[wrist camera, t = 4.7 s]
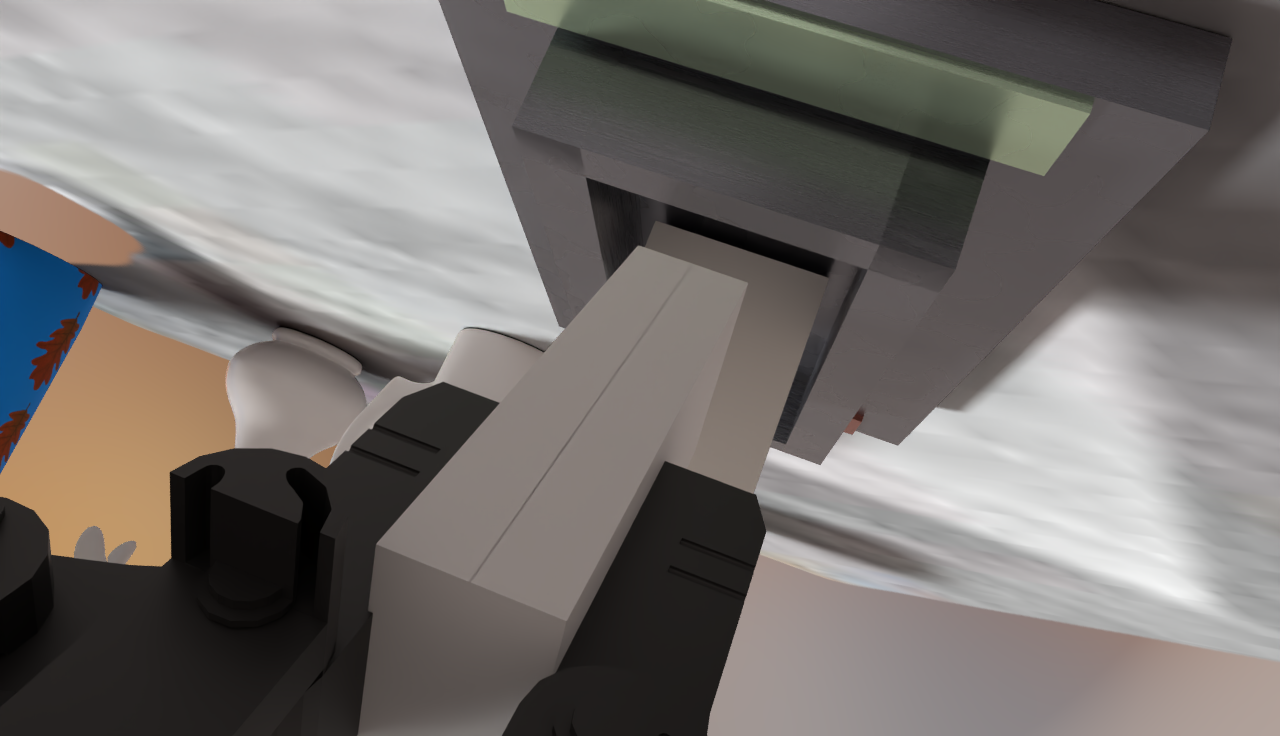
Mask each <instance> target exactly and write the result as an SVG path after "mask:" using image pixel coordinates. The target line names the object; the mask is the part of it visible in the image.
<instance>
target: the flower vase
mask: <svg viewBox="0 0 1280 736" xmlns="http://www.w3.org/2000/svg"><path fill="white" fill-rule="evenodd" d="M272 338H273V341H264V342H258V343H254V344H251V345H249V346H247V347H245V348H243V349H242V350H240V351H239V352H237V353H236V354H235V355H234V356H233V357H232V358H231V360H230V362H229V364H228V367H227V372H226V378H225V383H226V391H227V396H228V399H229V402H230V405H231V407H232V411H233V413H234V417H235V422H236V438H235V448H272V449H277V450H281V451H285V452H289V453H293V454H297V455H301V456H305V457H307V458H309V459H310V458H311V457H312V456H313V455H315V454H317V453H318V452H320V451H322V450H325V449H327V448H330V447H332V446H335V445H337V444H338V443H339V441H340V440H341V438H342V436H343V435H344V433H345V432H346V430H347V429H348V427H349V426H350V425H351V423H352V422H353V421H354V420H355V418H356V417H357V416H358V415H359V414H360V413H361V412H362V411H363V410H364V409H365V408H366V407H367V403H366V398H365V394H364V391H363V389H362V387H361V385H360V384H359V382H358V381H357V379H356V378H355V376H357V375H359V374H360V373H361V372H362V365H361V363H360V362H359V361H358V360H356V359H355V358H354V357H352V356H351V355H349V354H347V353H346V352H344V351H342V350H340V349H338V348H337V347H335V346H333V345H331V344H328V343H326V342H324V341H322V340H320V339H317V338H315V337H313V336H310V335H307V334H305V333H302V332H299V331H296V330H293V329H288V328H283V327H279V328H277V329H275V330H274V331H273V333H272ZM135 548H136V542H135V541H128V542H125V543H123V544H121V545H120V546H118V547H117V548H115V549H114V550H113V551H112V552H111V553H110V555H109V556H108V562H111V563H118V564H125V563H126V562H127V561H128V559H129V558H130V557H131V555H132V554H133V552H134V550H135ZM74 558H79V559H87V560H95V561H103V562H107V561H106V557H105V548H104V538H103V534H102V531H101V530H100V528H98V527H96V526H93V527H89V528H87V529H86V530H85V531H84V532H83V533H82V535H81V536H80V538H79V540H78V542H77V544H76V547H75V552H74Z"/></svg>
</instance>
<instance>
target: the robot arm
mask: <svg viewBox="0 0 1280 736" xmlns="http://www.w3.org/2000/svg"><path fill="white" fill-rule="evenodd" d="M747 285H748V283H747V282H745V281H742V280H739V279H736V278H733V277H730V276H727V275H724V274H721V273H718V272H715V271H712V270H709V269H706V268H703V267H700V266H698V265H695V264H692V263H689V262H686V261H683V260H680V259H677V258H674V257H671V256H668V255H665V254H662V253H659V252H656V251H654V250H651V249H648V248H645V247H642V246H639V245H638V246H637V247H636V249H635V250H634V251H633V252H632V253H631V254H630V255H629V257H628V258H627V259H626V260H625V261H624V262H623V263H622V264H621V266H620V267H619V268H618V269H617V270H616V271H615V272H614V274H613V275H612V276H611V277H610V278H609V279H608V280H607V282H606V283H605V284H604V285H603V286H602V287H601V288H600V290H599V291H598V292H597V293H596V294H595V295H594V296H593V298H592V299H591V300H590V301H589V302H588V303H587V304H586V305H585V307H584V308H583V309H582V310H581V311H580V312H579V313H578V315H577V316H576V317H575V318H574V319H573V320H572V321H571V323H570V324H569V325H568V326H567V327H566V328H565V329H564V331H563V332H562V333H561V334H560V335H559V336H558V337H557V339H556V340H555V341H554V342H553V343H552V344H551V345H550V347H549V348H548V349H547V350H546V351H545V352H544V353H543V354H542V356H541V357H540V358H539V359H538V360H537V361H536V362H535V364H534V365H533V366H532V367H531V368H530V369H529V370H528V372H527V373H526V374H525V375H524V376H523V377H522V378H521V380H520V381H519V382H518V383H517V384H516V385H515V386H514V388H513V389H512V390H511V391H510V392H509V393H508V394H507V396H506V397H505V398H504V399H503V400H502V401H501V402H500V403H499V402H496V401H494V400H491V399H488V398H486V397H483V396H480V395H478V394H475V393H472V392H470V391H467V390H464V389H462V388H459V387H456V386H453V385H451V384H448V383H445V382H441V383H438V384H436V385H433V386H431V387H428V388H425V389H423V390H420V391H418V392H415V393H412V394H410V395H407V396H404V397H402V398H401V399H400V400H399V401H398V402H397V403H396V404H394V405H393V406H392V407H391V408H390V409H389V410H388V411H387V412H386V413H385V414H384V415H383V416H382V417H381V418H379V419H378V420H377V421H376V422H375V423H374V426H373V428H372V429H368V430H367V431H366V432H364V433H363V434H362V435H361V436H360V437H359V438H358V439H357V440H356V441H355V442H354V443H353V444H352V445H351V448H350V450H349V451H346V450H345V451H344V452H343V453H342V454H341V455H340V456H339V457H338V458H337V459H336V460H335V461H333V462H332V463H331V464H330V465H329V466H328V467H327V468H324V467H323V466H321V465H319V464H317V463H316V462H314V461H312V460H311V459H309V458H307V457H305V456H301V455H297V454H293V453H289V452H285V451H281V450H277V449H272V448H234V449H230V450H226V451H221V452H216V453H212V454H208V455H203V456H199V457H197V458H195V459H194V460H192V461H190V462H188V463H186V464H184V465H182V466H181V467H179V468H177V469H175V470H173V471H171V472H170V504H171V505H170V507H171V556H172V557H171V559H170V560H169V561H168V562H166V563H165V564H164V565H163V566H162V567H159V566H158V567H157V566H137V565H126V564H118V563H111V562H103V561H95V560H87V559H79V558H71V557H64V556H56V555H51V550H50V539H49V530H48V528H47V527H46V526H45V524H44V523H43V522H42V521H41V519H40V518H39V517H38V515H37V514H36V513H35V512H34V510H32V509H29V508H27V507H25V506H23V505H21V504H19V503H17V502H14V501H12V500H10V499H8V498H3V497H0V736H707V730H708V723H709V716H710V711H711V708H712V705H713V701H714V698H715V695H716V692H717V689H718V686H719V682H720V679H721V676H722V673H723V669H724V666H725V663H726V660H727V657H728V653H729V650H730V647H731V644H732V640H733V637H734V634H735V630H736V627H737V624H738V621H739V618H740V615H741V611H742V608H743V605H744V600H745V597H746V595H747V592H748V589H749V585H750V582H751V579H752V575H753V572H754V569H755V566H756V563H757V560H758V556H759V553H760V550H761V547H762V544H763V540H764V537H765V534H766V529H765V525H764V521H763V518H762V514H761V511H760V507H759V504H758V500H757V496H756V495H755V494H752V493H750V492H747V491H744V490H742V489H739V488H736V487H734V486H731V485H728V484H726V483H723V482H720V481H718V480H715V479H712V478H710V477H707V476H704V475H701V474H699V473H696V472H693V471H691V470H688V469H687V468H688V466H689V463H690V461H691V459H692V457H693V455H694V453H695V450H696V446H697V443H698V440H699V437H700V434H701V431H702V427H703V424H704V421H705V418H706V415H707V412H708V408H709V405H710V402H711V399H712V396H713V393H714V390H715V386H716V383H717V380H718V377H719V374H720V371H721V367H722V364H723V361H724V358H725V355H726V352H727V349H728V345H729V342H730V339H731V336H732V333H733V330H734V326H735V323H736V320H737V317H738V314H739V311H740V307H741V304H742V301H743V298H744V295H745V292H746V289H747Z"/></svg>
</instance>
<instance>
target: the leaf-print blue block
mask: <svg viewBox="0 0 1280 736" xmlns="http://www.w3.org/2000/svg"><path fill="white" fill-rule="evenodd" d="M101 287H102V284H100V283H99V282H98V281H97V280H96V279H95V278H93V277H91V276H90V275H88V274H87V273H85V272H84V271H82V270H80V269H79V268H77V267H75V266H73V265H71V264H69V263H68V262H66V261H64V260H62V259H60V258H58V257H56V256H54V255H52V254H50V253H48V252H46V251H44V250H42V249H40V248H38V247H36V246H34V245H31V244H29V243H27V242H25V241H23V240H20V239H18V238H16V237H14V236H11V235H9V234H7V233H4V232H2V231H0V473H1V472H2V470H3V468H4V466H5V465H6V463H7V461H8V459H9V457H10V456H11V453H12V452H13V450H14V449H15V446H16V445H17V443H18V441H19V440H20V438H21V436H22V434H23V432H24V431H25V429H26V427H27V425H28V424H29V422H30V420H31V418H32V416H33V414H34V412H35V411H36V409H37V407H38V406H39V404H40V402H41V400H42V398H43V397H44V395H45V393H46V391H47V390H48V388H49V386H50V384H51V382H52V381H53V379H54V377H55V375H56V374H57V372H58V370H59V368H60V366H61V364H62V363H63V361H64V359H65V357H66V355H67V354H68V352H69V350H70V349H71V347H72V345H73V343H74V341H75V340H76V338H77V336H78V334H79V332H80V331H81V329H82V326H83V325H84V322H85V320H86V318H87V316H88V314H89V312H90V310H91V308H92V306H93V304H94V302H95V300H96V298H97V296H98V294H99V291H100V289H101Z"/></svg>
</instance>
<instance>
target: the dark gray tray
mask: <svg viewBox="0 0 1280 736" xmlns="http://www.w3.org/2000/svg"><path fill="white" fill-rule="evenodd" d="M439 2H440V5H441V8H442V11H443V13H444V16H445V19H446V21H447V24H448V27H449V29H450V32H451V35H452V38H453V40H454V43H455V46H456V48H457V51H458V54H459V57H460V59H461V62H462V65H463V67H464V70H465V73H466V75H467V78H468V81H469V84H470V86H471V89H472V92H473V94H474V97H475V100H476V103H477V105H478V108H479V111H480V113H481V116H482V119H483V121H484V124H485V127H486V130H487V132H488V135H489V138H490V140H491V143H492V146H493V149H494V151H495V154H496V157H497V159H498V162H499V165H500V167H501V170H502V173H503V176H504V178H505V181H506V184H507V186H508V189H509V192H510V195H511V197H512V200H513V203H514V205H515V208H516V211H517V213H518V216H519V219H520V222H521V224H522V227H523V230H524V232H525V235H526V238H527V241H528V243H529V246H530V249H531V251H532V254H533V257H534V259H535V262H536V265H537V268H538V270H539V273H540V276H541V278H542V281H543V284H544V287H545V289H546V292H547V295H548V297H549V300H550V303H551V305H552V308H553V311H554V314H555V316H556V319H557V322H558V324H559V326H560V327H563V328H566V327H567V326H568V325H569V324H570V323H571V321H572V320H573V319H574V318H575V317H576V316H577V315H578V313H579V312H580V311H581V310H582V309H583V308H584V307H585V305H586V304H587V303H588V302H589V301H590V300H591V299H592V298H593V296H594V295H595V294H596V293H597V292H598V291H599V290H600V288H601V287H602V286H603V285H604V284H605V283H606V282H607V280H608V279H609V278H610V277H611V276H612V275H613V274H614V272H615V271H616V270H617V269H618V268H619V267H620V266H621V264H622V263H623V262H624V261H625V260H626V259H627V258H628V257H629V255H630V254H631V253H632V252H633V251H634V250H635V249H636V247H637V246H638V245H639V246H642V247H645V245H646V243H647V240H648V238H649V236H650V233H651V231H652V228H653V226H654V223H655V221H658V222H661V223H665V224H668V225H671V226H674V227H677V228H680V229H683V230H686V231H689V232H692V233H695V234H698V235H701V236H704V237H707V238H710V239H713V240H716V241H719V242H722V243H725V244H728V245H731V246H734V247H737V248H740V249H743V250H746V251H749V252H752V253H755V254H758V255H761V256H764V257H767V258H770V259H773V260H776V261H779V262H782V263H785V264H788V265H791V266H794V267H797V268H800V269H803V270H806V271H809V272H813V273H816V274H819V275H822V276H825V277H828V278H829V280H828V283H827V286H826V289H825V292H824V295H823V297H822V300H821V303H820V306H819V309H818V312H817V314H816V317H815V320H814V323H813V326H812V329H811V332H810V334H809V337H808V340H807V343H806V346H805V349H804V351H803V354H802V357H801V360H800V363H799V366H798V369H797V371H796V374H795V377H794V380H793V383H792V386H791V389H790V391H789V394H788V397H787V400H786V403H785V406H784V408H783V411H782V414H781V417H780V420H779V423H778V426H777V428H776V431H775V434H774V437H773V440H772V443H771V445H770V447H772V448H774V449H777V450H780V451H783V452H785V453H788V454H791V455H794V456H797V457H799V458H802V459H805V460H808V461H811V462H813V463H816V464H819V465H821V463H822V462H823V460H824V459H825V457H826V456H827V455H828V453H829V452H830V450H831V449H832V447H833V446H834V444H835V443H836V442H837V440H838V439H839V437H840V436H841V434H842V433H843V432H846V433H848V434H851V435H853V433H854V432H855V431H858V432H861V433H864V434H867V435H869V436H872V437H875V438H878V439H881V440H884V441H886V442H889V443H892V444H895V445H899V444H900V443H901V442H902V441H903V440H904V439H905V438H906V437H907V436H908V435H909V434H910V433H911V432H912V431H913V430H914V429H915V428H916V427H917V426H918V425H919V424H920V423H921V422H922V421H923V420H924V419H925V418H926V417H927V416H928V415H929V413H930V412H931V411H932V410H933V409H934V408H935V407H936V406H937V405H938V404H939V403H940V402H941V401H942V400H943V399H944V398H945V397H946V396H947V395H948V394H949V393H950V392H951V391H952V390H953V389H954V388H955V387H956V386H957V385H958V384H959V383H960V382H961V381H962V380H963V379H964V378H965V377H966V376H967V375H968V374H969V373H970V372H971V371H972V370H973V369H974V368H975V367H976V366H977V365H978V364H979V363H980V362H981V361H982V360H983V359H984V358H985V357H986V356H987V355H988V354H989V353H990V352H991V351H992V350H993V349H994V348H995V347H996V346H997V345H998V344H999V343H1000V342H1001V341H1002V340H1003V339H1004V338H1005V337H1006V336H1007V335H1008V334H1009V333H1010V331H1011V330H1012V329H1013V328H1014V327H1015V326H1016V325H1017V324H1018V323H1019V322H1020V321H1021V320H1022V319H1023V318H1024V317H1025V316H1026V315H1027V314H1028V313H1029V312H1030V311H1031V310H1032V309H1033V308H1034V307H1035V306H1036V305H1037V304H1038V303H1039V302H1040V301H1041V300H1042V299H1043V298H1044V297H1045V296H1046V295H1047V294H1048V293H1049V292H1050V291H1051V290H1052V289H1053V288H1054V287H1055V286H1056V285H1057V284H1058V283H1059V282H1060V281H1061V280H1062V279H1063V278H1064V277H1065V276H1066V275H1067V274H1068V273H1069V272H1070V271H1071V270H1072V269H1073V268H1074V267H1075V266H1076V265H1077V264H1078V263H1079V262H1080V261H1081V260H1082V259H1083V258H1084V257H1085V256H1086V255H1087V254H1088V253H1089V252H1090V251H1091V250H1092V248H1093V247H1094V246H1095V245H1096V244H1097V243H1098V242H1099V241H1100V240H1101V239H1102V238H1103V237H1104V236H1105V235H1106V234H1107V233H1108V232H1109V231H1110V230H1111V229H1112V228H1113V227H1114V226H1115V225H1116V224H1117V223H1118V222H1119V221H1120V220H1121V219H1122V218H1123V217H1124V216H1125V215H1126V214H1127V213H1128V212H1129V211H1130V210H1131V209H1132V208H1133V207H1134V206H1135V205H1136V204H1137V203H1138V202H1139V201H1140V200H1141V199H1142V198H1143V197H1144V196H1145V195H1146V194H1147V193H1148V192H1149V191H1150V190H1151V189H1152V188H1153V187H1154V186H1155V185H1156V184H1157V183H1158V182H1159V181H1160V180H1161V179H1162V178H1163V177H1164V176H1165V175H1166V174H1167V173H1168V172H1169V171H1170V170H1171V169H1172V168H1173V166H1174V165H1175V164H1176V163H1177V162H1178V161H1179V160H1180V159H1181V158H1182V157H1183V156H1184V155H1185V154H1186V153H1187V152H1188V151H1189V150H1190V149H1191V148H1192V147H1193V146H1194V145H1195V144H1196V143H1197V142H1198V141H1199V140H1200V139H1201V138H1202V137H1203V136H1204V135H1205V134H1206V133H1207V132H1208V131H1209V129H1210V125H1211V121H1212V117H1213V113H1214V109H1215V105H1216V101H1217V97H1218V93H1219V89H1220V85H1221V81H1222V77H1223V73H1224V69H1225V65H1226V61H1227V57H1228V53H1229V49H1230V45H1231V41H1232V38H1228V37H1225V36H1221V35H1217V34H1214V33H1210V32H1207V31H1203V30H1199V29H1196V28H1192V27H1189V26H1185V25H1182V24H1178V23H1174V22H1171V21H1167V20H1164V19H1160V18H1157V17H1153V16H1149V15H1146V14H1142V13H1139V12H1135V11H1132V10H1128V9H1124V8H1121V7H1117V6H1114V5H1110V4H1106V3H1103V2H1099V1H1096V0H439Z"/></svg>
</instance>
